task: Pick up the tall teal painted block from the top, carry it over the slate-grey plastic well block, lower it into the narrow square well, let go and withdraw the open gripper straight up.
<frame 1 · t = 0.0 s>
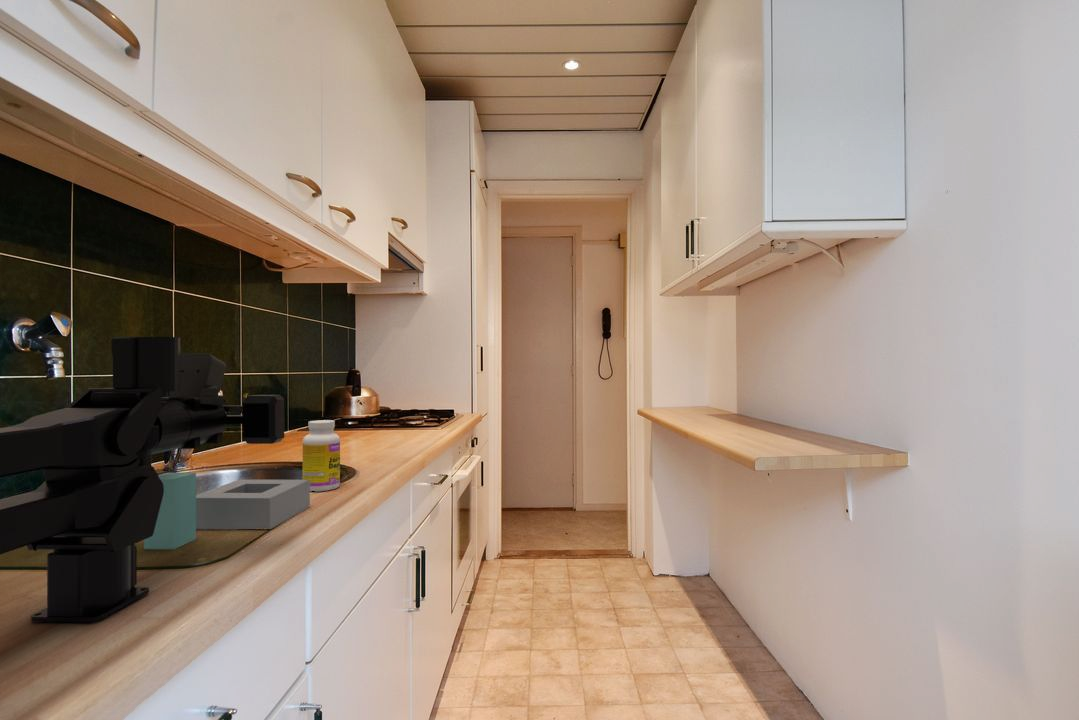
hand: (248, 413, 76), 17 cm above the counter, tool horizontal, fingers open, 9 cm apart
teal block: (170, 543, 69), on the counter
supplement bottle: (321, 489, 100), on the counter
well block: (253, 517, 81), on the counter
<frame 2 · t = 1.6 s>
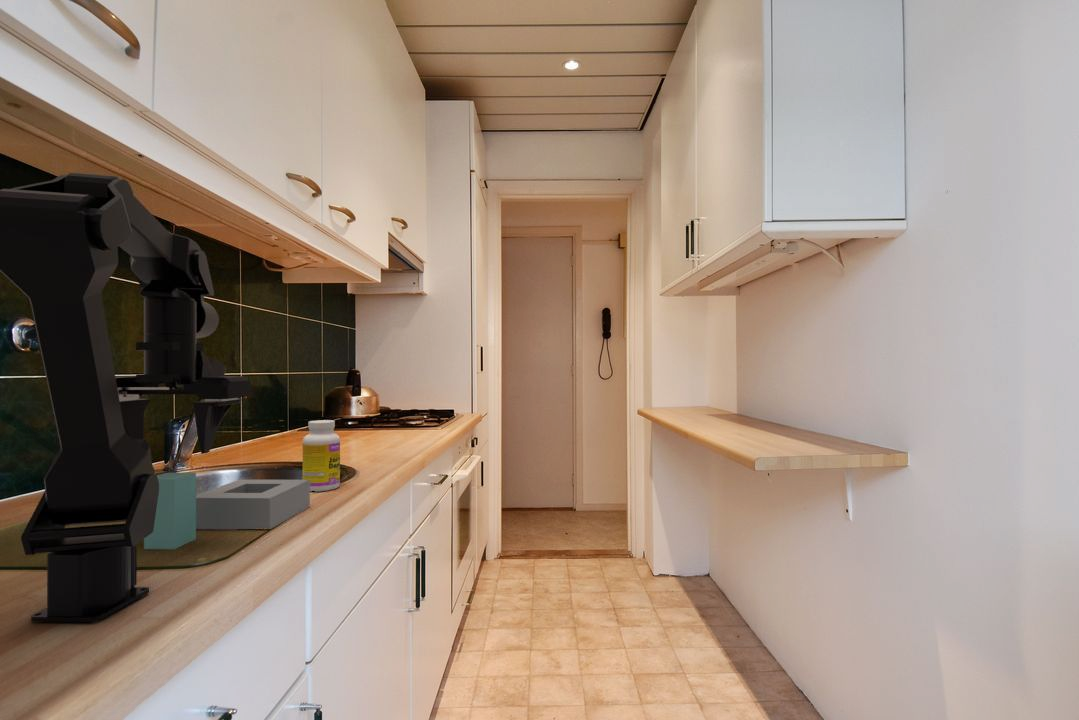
hand: (171, 452, 69), 12 cm above the counter, tool pointing down, fingers open, 9 cm apart
nothing on the counter moved.
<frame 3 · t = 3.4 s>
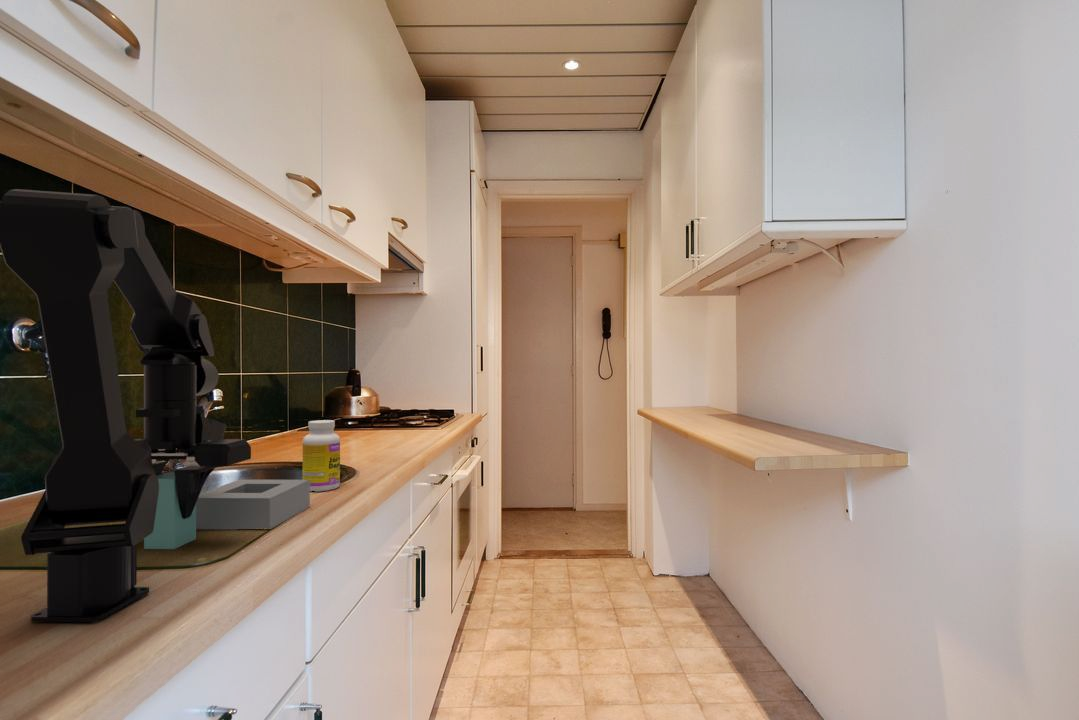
hand: (170, 517, 69), 3 cm above the counter, tool pointing down, fingers closed on teal block, 4 cm apart
teal block: (170, 543, 69), on the counter, touching gripper
everything else where it was.
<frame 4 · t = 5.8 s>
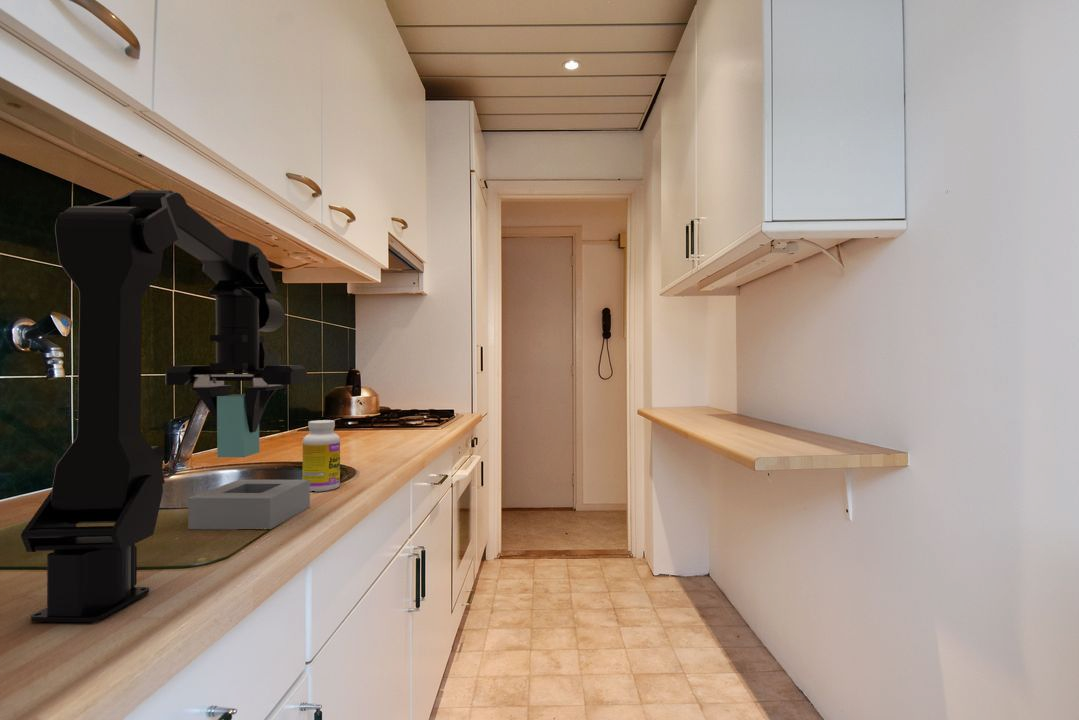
hand: (238, 432, 79), 13 cm above the counter, tool pointing down, fingers closed on teal block, 4 cm apart
teal block: (238, 454, 79), point 10 cm above the counter, touching gripper
everything else where it was.
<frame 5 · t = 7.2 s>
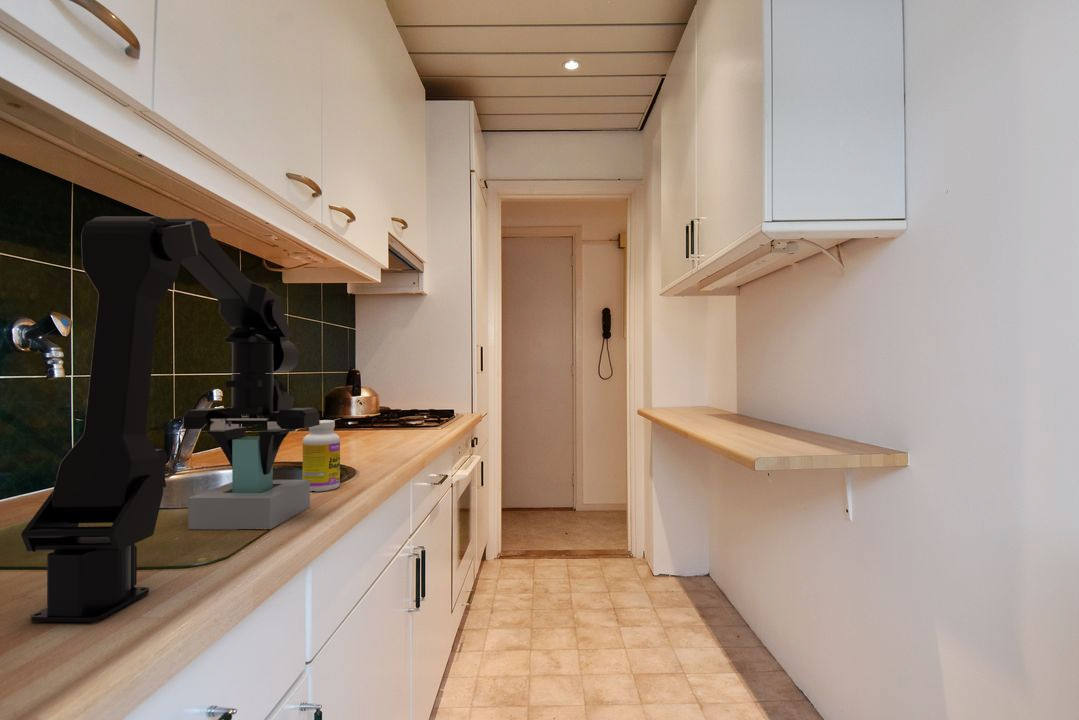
hand: (252, 474, 81), 7 cm above the counter, tool pointing down, fingers closed on teal block, 4 cm apart
teal block: (253, 496, 81), point 3 cm above the counter, touching gripper
everything else where it was.
when the fingers open (5 cm above the counter, at t = 8.2 s): teal block drops 1 cm, resting on well block.
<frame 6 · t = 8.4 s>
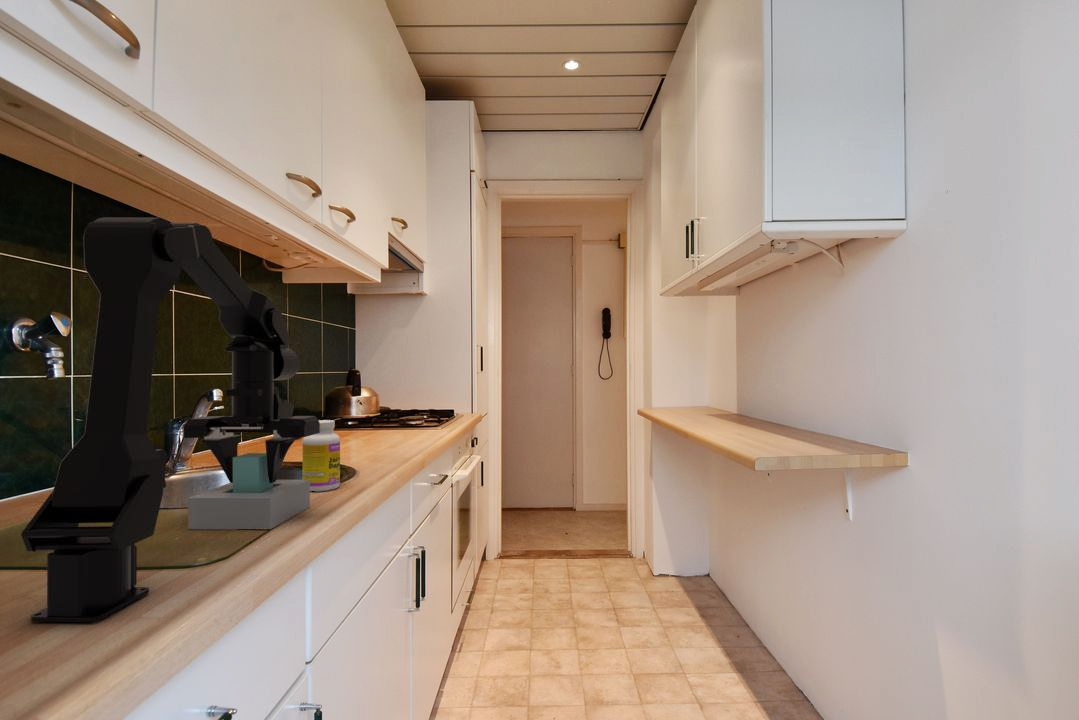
hand: (253, 482, 81), 5 cm above the counter, tool pointing down, fingers open, 6 cm apart
teal block: (253, 513, 81), point 1 cm above the counter, touching well block
everything else where it was.
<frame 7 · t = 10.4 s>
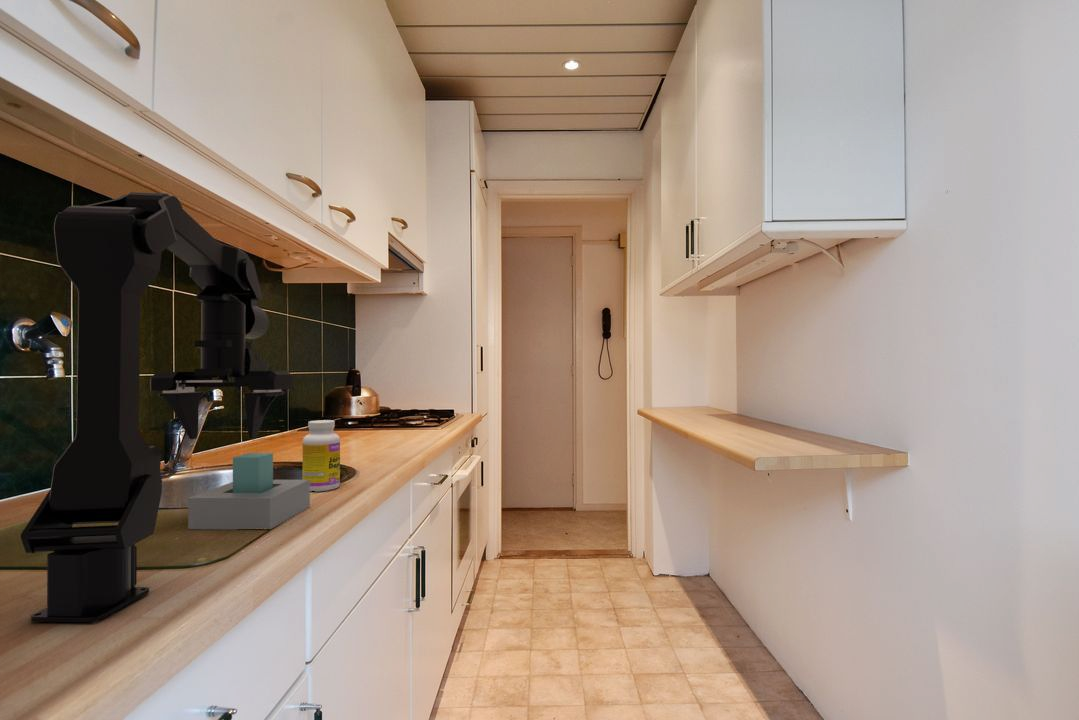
hand: (222, 438, 78), 13 cm above the counter, tool pointing down, fingers open, 9 cm apart
nothing on the counter moved.
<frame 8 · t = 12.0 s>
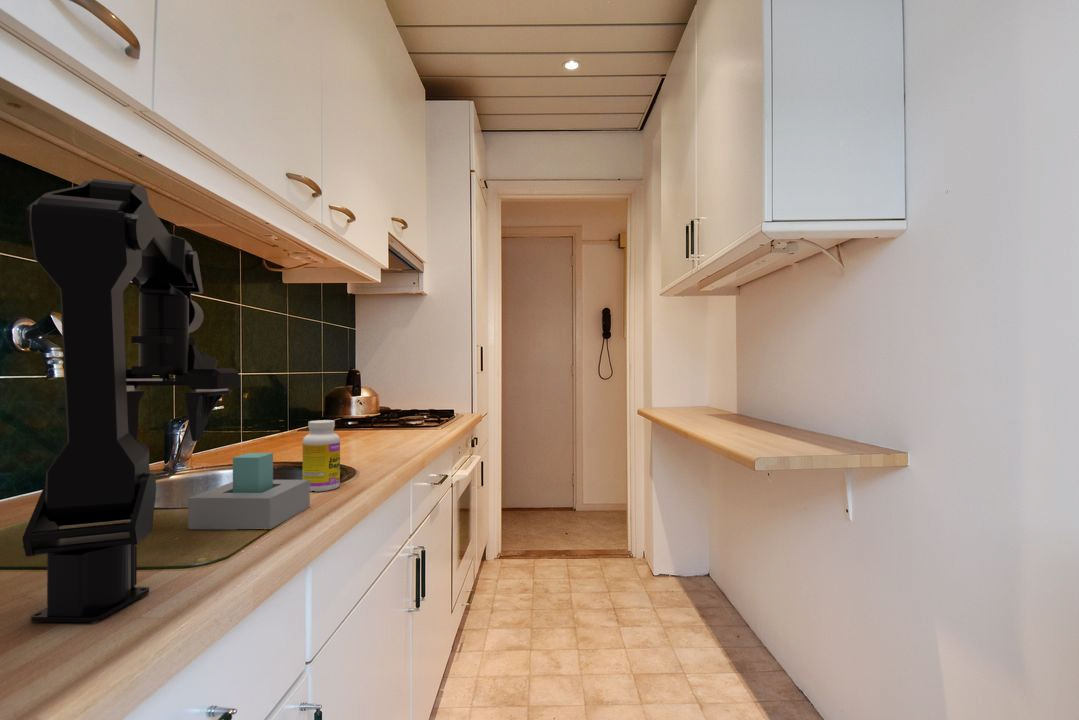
hand: (164, 440, 73), 13 cm above the counter, tool pointing down, fingers open, 9 cm apart
nothing on the counter moved.
at the end: teal block 0.0 cm off-centre on the well block, point 0.6 cm above the well block's base; teal block tilted 0°; the gripper is holding nothing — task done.
